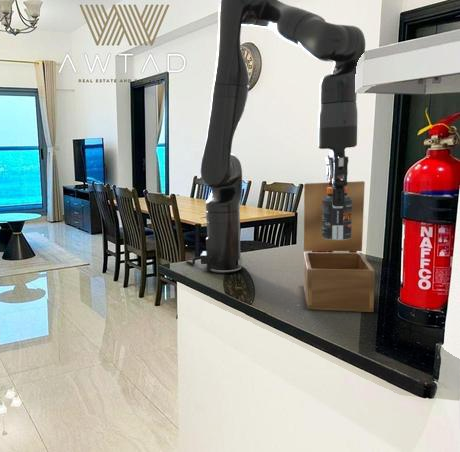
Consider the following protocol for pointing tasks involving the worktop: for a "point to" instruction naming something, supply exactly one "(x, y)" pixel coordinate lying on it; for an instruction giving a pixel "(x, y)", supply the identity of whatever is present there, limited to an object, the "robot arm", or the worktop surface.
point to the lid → (314, 218)
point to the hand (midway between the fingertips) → (336, 203)
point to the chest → (338, 281)
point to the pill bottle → (336, 217)
